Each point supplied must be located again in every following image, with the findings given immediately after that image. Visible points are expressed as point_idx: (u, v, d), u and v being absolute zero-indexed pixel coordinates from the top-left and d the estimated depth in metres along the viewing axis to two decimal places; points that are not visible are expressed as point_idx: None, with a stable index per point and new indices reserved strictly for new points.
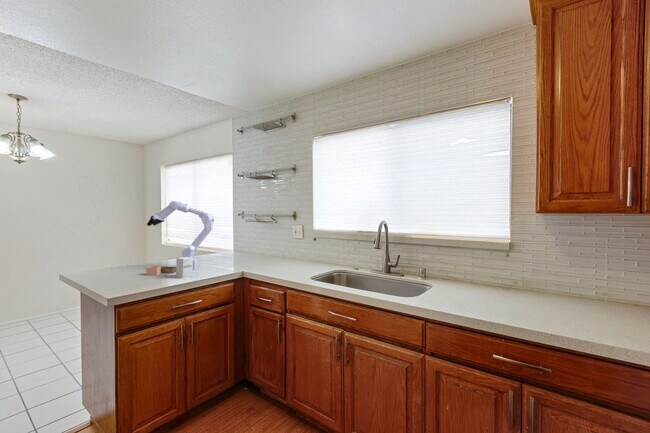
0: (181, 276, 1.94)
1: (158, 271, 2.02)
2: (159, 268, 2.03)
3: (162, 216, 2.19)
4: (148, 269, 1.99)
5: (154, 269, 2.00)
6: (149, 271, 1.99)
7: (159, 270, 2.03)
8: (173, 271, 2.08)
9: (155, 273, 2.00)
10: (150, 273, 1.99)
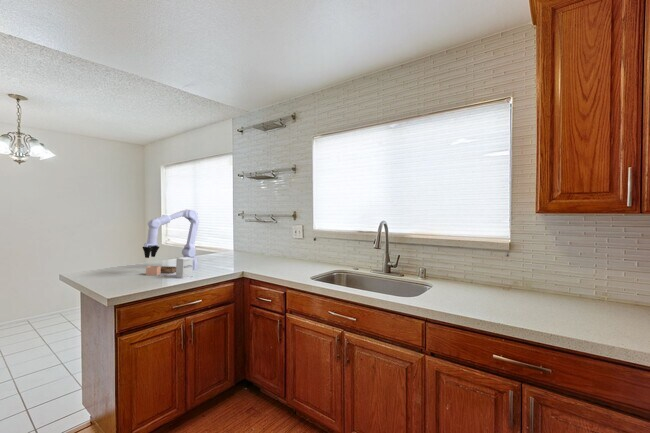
0: (181, 276, 1.94)
1: (158, 271, 2.02)
2: (159, 268, 2.03)
3: (152, 240, 2.01)
4: (148, 269, 1.99)
5: (154, 269, 2.00)
6: (149, 271, 1.99)
7: (159, 270, 2.03)
8: (173, 271, 2.08)
9: (155, 273, 2.00)
10: (150, 273, 1.99)
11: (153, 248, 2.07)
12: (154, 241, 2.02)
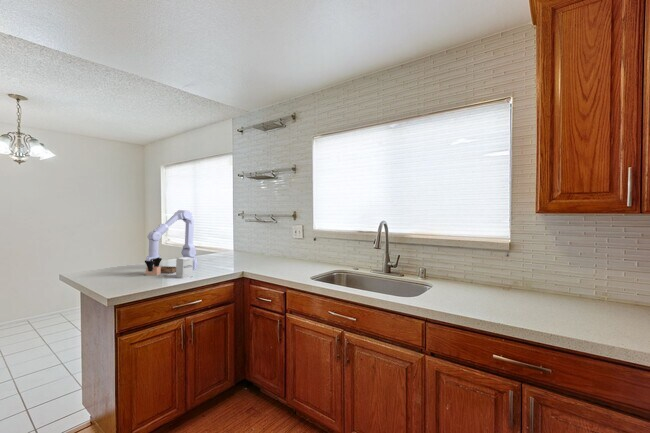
0: (181, 276, 1.94)
1: (158, 271, 2.02)
2: (159, 268, 2.03)
3: (153, 253, 1.99)
4: None
5: (154, 269, 2.00)
6: (149, 271, 1.99)
7: (159, 270, 2.03)
8: (173, 271, 2.08)
9: (155, 273, 2.00)
10: (150, 273, 1.99)
11: (155, 260, 2.05)
12: (156, 254, 2.00)
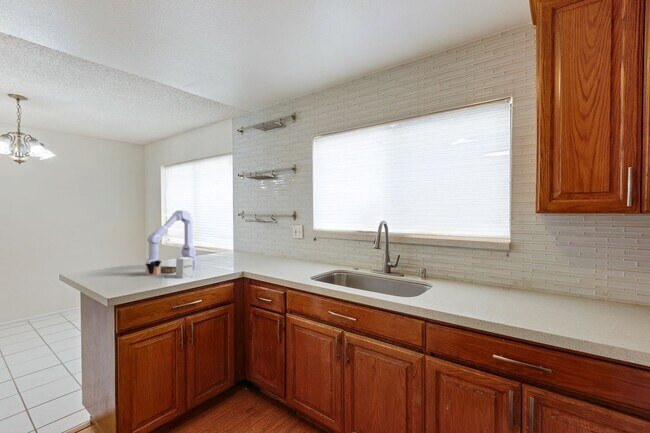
0: (181, 276, 1.94)
1: (158, 271, 2.02)
2: (159, 268, 2.03)
3: (153, 256, 1.99)
4: None
5: (154, 269, 2.00)
6: None
7: (159, 270, 2.03)
8: (173, 271, 2.08)
9: (155, 273, 2.00)
10: None
11: (155, 263, 2.05)
12: (156, 256, 2.00)
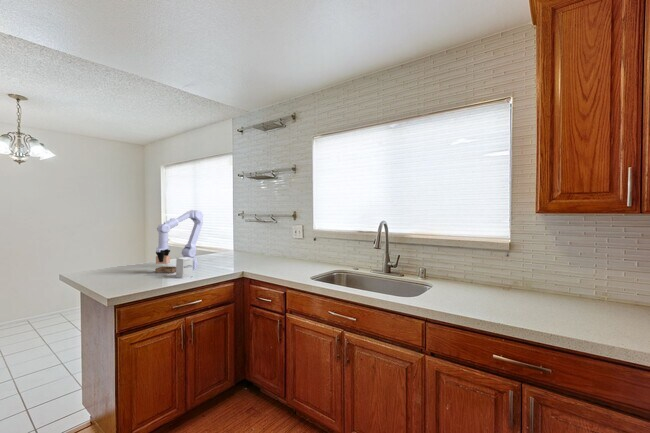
0: (181, 276, 1.94)
1: (167, 260, 2.08)
2: (168, 257, 2.09)
3: (163, 245, 2.05)
4: None
5: (164, 258, 2.05)
6: None
7: (168, 259, 2.09)
8: (173, 271, 2.08)
9: (165, 262, 2.05)
10: (160, 262, 2.05)
11: (164, 252, 2.10)
12: (165, 245, 2.06)
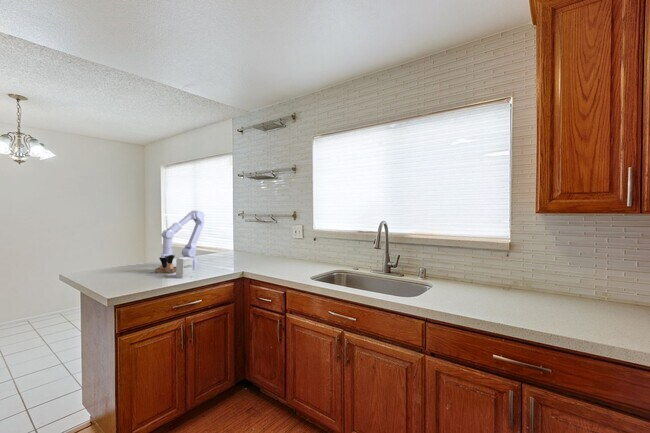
0: (181, 276, 1.94)
1: (171, 268, 2.11)
2: (172, 265, 2.12)
3: (167, 250, 2.08)
4: None
5: (168, 266, 2.08)
6: (163, 268, 2.08)
7: (172, 267, 2.12)
8: (173, 271, 2.08)
9: None
10: None
11: (169, 257, 2.14)
12: (169, 251, 2.09)
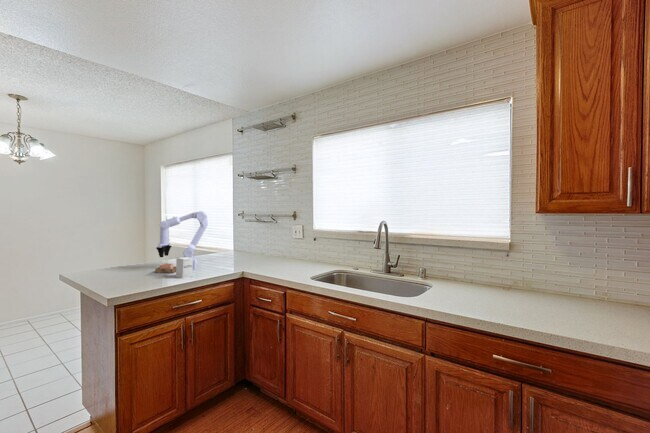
0: (181, 276, 1.94)
1: (171, 268, 2.11)
2: (172, 265, 2.12)
3: (164, 241, 2.15)
4: (162, 266, 2.08)
5: (168, 266, 2.08)
6: (163, 268, 2.08)
7: (172, 267, 2.12)
8: (173, 271, 2.08)
9: None
10: None
11: (166, 247, 2.22)
12: (166, 241, 2.17)
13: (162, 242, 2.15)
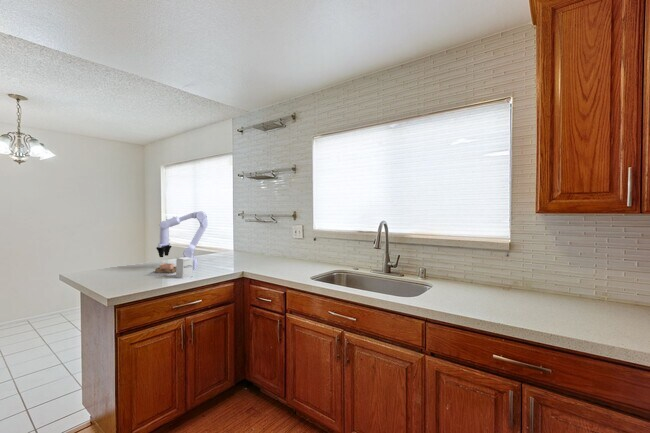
0: (181, 276, 1.94)
1: (171, 268, 2.11)
2: (172, 265, 2.12)
3: (164, 241, 2.16)
4: (162, 266, 2.08)
5: (168, 266, 2.08)
6: (163, 268, 2.08)
7: (172, 267, 2.12)
8: (173, 271, 2.08)
9: None
10: None
11: (166, 247, 2.22)
12: (166, 241, 2.17)
13: (162, 242, 2.15)
